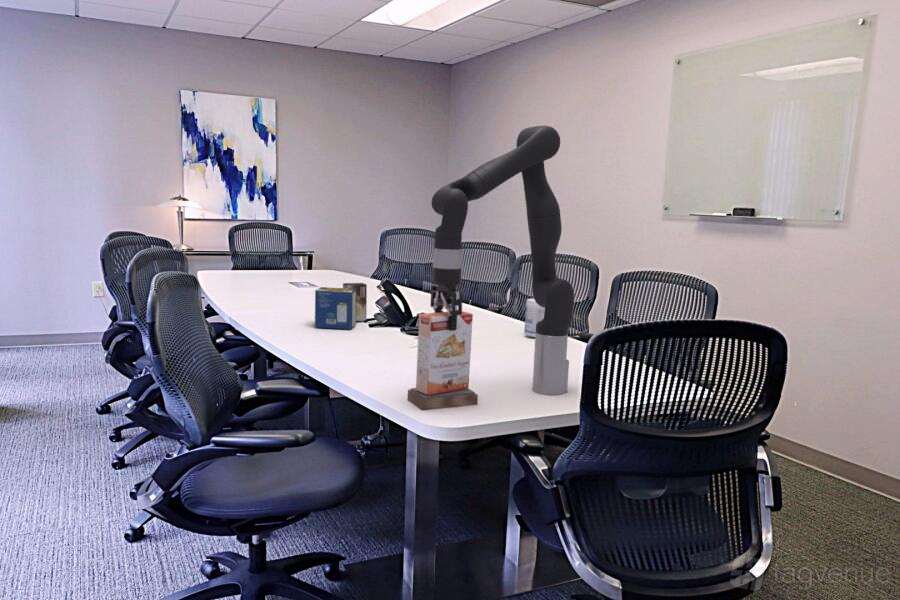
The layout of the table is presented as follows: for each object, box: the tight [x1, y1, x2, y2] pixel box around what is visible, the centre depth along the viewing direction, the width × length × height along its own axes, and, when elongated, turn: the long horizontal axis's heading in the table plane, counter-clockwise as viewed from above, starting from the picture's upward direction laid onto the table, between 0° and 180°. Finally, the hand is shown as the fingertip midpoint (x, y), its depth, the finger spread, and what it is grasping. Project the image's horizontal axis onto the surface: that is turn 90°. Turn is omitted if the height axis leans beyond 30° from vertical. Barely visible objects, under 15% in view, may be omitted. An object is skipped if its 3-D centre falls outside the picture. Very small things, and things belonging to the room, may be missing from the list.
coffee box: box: [342, 282, 368, 322], centre depth 300 cm, size 9×6×16 cm
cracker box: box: [415, 310, 474, 395], centre depth 181 cm, size 14×6×21 cm, turn 128°
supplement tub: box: [523, 298, 545, 338], centre depth 280 cm, size 10×10×15 cm
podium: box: [407, 387, 479, 411], centre depth 183 cm, size 16×10×4 cm, turn 116°
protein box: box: [314, 286, 357, 330], centre depth 284 cm, size 10×15×16 cm
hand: (444, 327), depth 180 cm, fingers open, 8 cm apart
